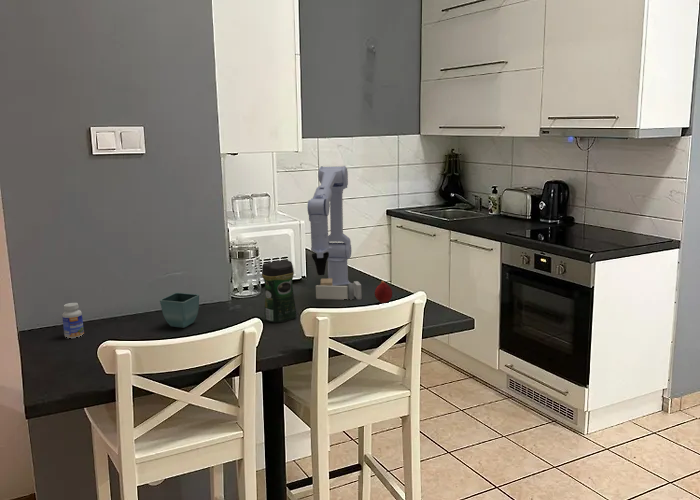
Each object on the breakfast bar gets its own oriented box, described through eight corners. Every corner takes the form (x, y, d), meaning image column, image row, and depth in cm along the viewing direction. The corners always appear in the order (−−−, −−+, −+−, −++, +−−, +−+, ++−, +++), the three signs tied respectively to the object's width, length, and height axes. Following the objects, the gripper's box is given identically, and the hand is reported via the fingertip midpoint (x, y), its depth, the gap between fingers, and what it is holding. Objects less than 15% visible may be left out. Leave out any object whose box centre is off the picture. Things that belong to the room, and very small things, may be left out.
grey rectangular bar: (348, 298, 227) (348, 285, 226) (347, 299, 225) (347, 286, 224) (317, 297, 229) (317, 284, 228) (316, 298, 227) (315, 286, 226)
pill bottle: (72, 340, 191) (68, 308, 189) (60, 337, 194) (56, 305, 192) (88, 334, 196) (84, 303, 194) (76, 331, 199) (73, 300, 197)
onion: (392, 301, 221) (392, 278, 219) (392, 306, 215) (391, 282, 213) (375, 301, 221) (374, 278, 220) (374, 306, 216) (373, 282, 214)
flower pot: (186, 330, 197) (183, 302, 195) (161, 328, 200) (158, 300, 198) (202, 322, 205) (200, 294, 203) (178, 319, 208) (175, 292, 206)
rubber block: (321, 293, 234) (321, 278, 232) (332, 293, 234) (332, 278, 232) (321, 298, 228) (320, 282, 227) (332, 297, 228) (332, 282, 227)
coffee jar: (287, 313, 211) (284, 256, 208) (300, 318, 205) (297, 260, 201) (260, 319, 206) (257, 261, 202) (273, 325, 199) (270, 265, 196)
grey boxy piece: (361, 299, 225) (361, 283, 224) (349, 300, 224) (348, 284, 223) (358, 295, 230) (357, 279, 229) (346, 296, 229) (345, 280, 228)
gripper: (331, 238, 210) (333, 279, 212) (331, 230, 224) (332, 269, 227) (309, 239, 210) (311, 280, 212) (310, 231, 224) (312, 269, 226)
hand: (321, 274), depth 219 cm, fingers closed
